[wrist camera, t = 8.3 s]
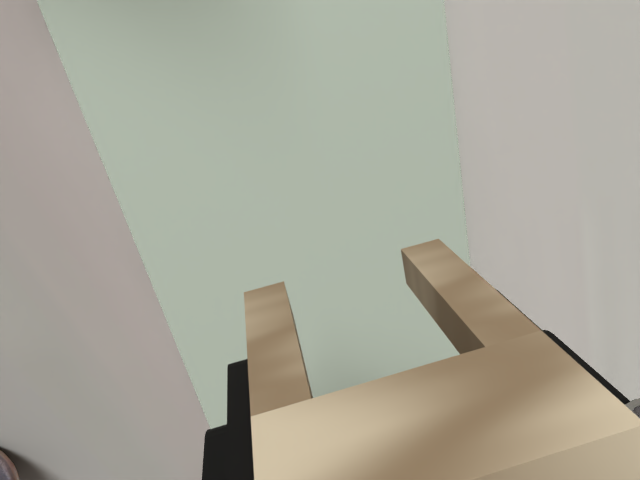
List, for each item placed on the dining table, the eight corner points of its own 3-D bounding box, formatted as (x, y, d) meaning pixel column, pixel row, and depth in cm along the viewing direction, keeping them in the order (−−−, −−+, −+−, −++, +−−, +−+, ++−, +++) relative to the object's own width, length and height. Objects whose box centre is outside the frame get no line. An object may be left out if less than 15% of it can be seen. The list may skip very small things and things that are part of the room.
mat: (429, -84, 20) (435, -88, 19) (473, 344, 28) (478, 350, 28) (42, 1, 19) (36, 0, 18) (211, 421, 27) (210, 429, 27)
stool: (438, 238, 12) (645, 424, 6) (458, 392, 14) (629, 648, 8) (243, 292, 12) (258, 548, 6) (292, 442, 14) (340, 750, 8)
